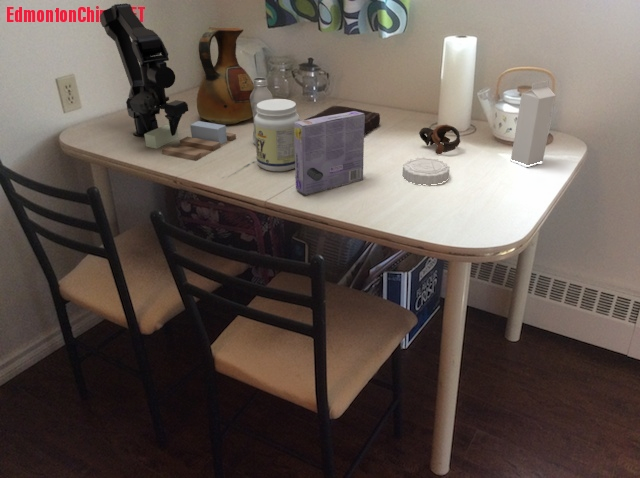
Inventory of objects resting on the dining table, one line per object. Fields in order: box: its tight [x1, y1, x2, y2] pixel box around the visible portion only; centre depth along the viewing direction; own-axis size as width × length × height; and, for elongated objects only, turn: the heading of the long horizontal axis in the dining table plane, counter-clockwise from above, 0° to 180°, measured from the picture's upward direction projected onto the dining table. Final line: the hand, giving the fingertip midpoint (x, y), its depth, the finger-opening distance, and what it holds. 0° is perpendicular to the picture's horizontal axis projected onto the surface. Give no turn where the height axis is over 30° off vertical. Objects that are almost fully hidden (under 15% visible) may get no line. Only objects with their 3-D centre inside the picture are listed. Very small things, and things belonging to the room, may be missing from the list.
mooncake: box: [401, 157, 450, 186], centre depth 149 cm, size 12×12×4 cm
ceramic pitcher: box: [196, 26, 255, 125], centre depth 185 cm, size 20×20×30 cm
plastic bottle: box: [250, 77, 274, 146], centre depth 165 cm, size 6×7×20 cm
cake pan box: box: [294, 111, 365, 196], centre depth 142 cm, size 19×5×18 cm, turn 123°
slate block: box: [189, 120, 227, 145], centre depth 171 cm, size 10×4×5 cm, turn 63°
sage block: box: [144, 123, 179, 149], centre depth 171 cm, size 10×4×5 cm, turn 153°
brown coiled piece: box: [418, 124, 461, 155], centre depth 165 cm, size 12×10×8 cm
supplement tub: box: [253, 98, 301, 172], centre depth 154 cm, size 12×12×17 cm
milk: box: [510, 80, 556, 165], centre depth 151 cm, size 6×6×22 cm
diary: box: [304, 105, 381, 136], centre depth 180 cm, size 19×25×5 cm
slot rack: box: [161, 131, 237, 162], centre depth 168 cm, size 12×20×2 cm, turn 153°
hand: (161, 133), depth 171 cm, fingers open, 9 cm apart
